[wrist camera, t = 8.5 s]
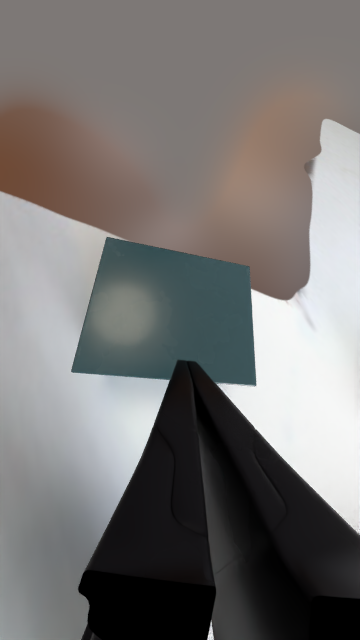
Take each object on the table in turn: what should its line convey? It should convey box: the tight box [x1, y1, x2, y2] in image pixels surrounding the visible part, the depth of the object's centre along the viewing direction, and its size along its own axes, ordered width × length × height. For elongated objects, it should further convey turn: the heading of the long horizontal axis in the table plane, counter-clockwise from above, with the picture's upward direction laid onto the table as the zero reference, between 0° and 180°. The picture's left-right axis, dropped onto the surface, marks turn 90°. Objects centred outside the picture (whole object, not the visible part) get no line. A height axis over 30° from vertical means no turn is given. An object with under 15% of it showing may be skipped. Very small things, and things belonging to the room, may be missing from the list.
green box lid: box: [71, 237, 256, 386], centre depth 12 cm, size 9×11×1 cm
